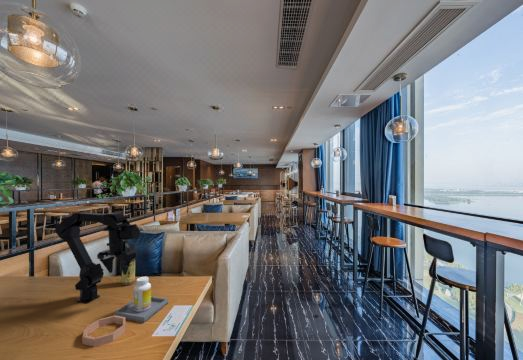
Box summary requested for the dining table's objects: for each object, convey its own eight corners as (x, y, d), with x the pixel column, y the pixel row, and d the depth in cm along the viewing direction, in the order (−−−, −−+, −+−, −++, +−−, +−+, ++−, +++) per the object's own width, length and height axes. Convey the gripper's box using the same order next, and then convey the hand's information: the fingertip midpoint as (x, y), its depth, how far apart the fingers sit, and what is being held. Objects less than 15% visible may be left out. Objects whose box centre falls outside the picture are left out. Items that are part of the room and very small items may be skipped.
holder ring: (73, 342, 77) (74, 334, 77) (106, 320, 89) (107, 313, 89) (103, 348, 74) (103, 341, 74) (133, 325, 87) (133, 318, 87)
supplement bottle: (152, 303, 101) (153, 275, 101) (148, 312, 94) (148, 281, 94) (136, 304, 100) (137, 275, 100) (130, 313, 93) (131, 282, 93)
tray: (114, 317, 92) (114, 312, 92) (141, 298, 106) (141, 294, 106) (144, 322, 88) (144, 317, 88) (168, 303, 102) (168, 298, 102)
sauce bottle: (128, 286, 118) (129, 249, 118) (118, 285, 119) (119, 248, 119) (137, 281, 124) (138, 245, 124) (128, 280, 125) (128, 244, 125)
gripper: (145, 236, 108) (147, 268, 108) (118, 235, 115) (119, 265, 114) (124, 242, 98) (126, 278, 97) (95, 241, 104) (97, 274, 104)
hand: (118, 273), depth 104 cm, fingers open, 9 cm apart
